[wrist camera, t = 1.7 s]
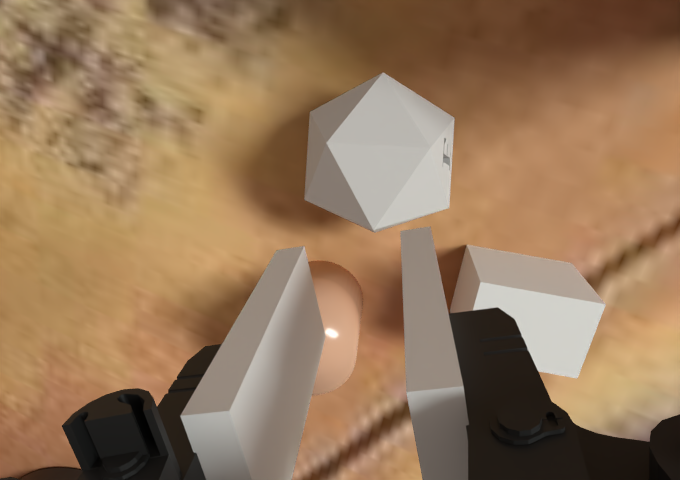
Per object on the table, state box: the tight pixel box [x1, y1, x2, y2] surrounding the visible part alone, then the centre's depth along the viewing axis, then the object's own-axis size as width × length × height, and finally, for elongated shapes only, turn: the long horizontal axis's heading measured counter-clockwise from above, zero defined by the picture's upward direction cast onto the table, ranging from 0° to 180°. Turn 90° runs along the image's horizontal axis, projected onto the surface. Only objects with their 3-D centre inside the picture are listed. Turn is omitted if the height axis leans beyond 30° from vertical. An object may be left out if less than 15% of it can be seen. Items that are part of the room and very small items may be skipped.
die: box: [304, 72, 455, 232], centre depth 29 cm, size 8×9×10 cm
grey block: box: [450, 245, 606, 378], centre depth 32 cm, size 7×5×6 cm
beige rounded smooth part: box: [308, 261, 363, 395], centre depth 34 cm, size 6×6×7 cm
